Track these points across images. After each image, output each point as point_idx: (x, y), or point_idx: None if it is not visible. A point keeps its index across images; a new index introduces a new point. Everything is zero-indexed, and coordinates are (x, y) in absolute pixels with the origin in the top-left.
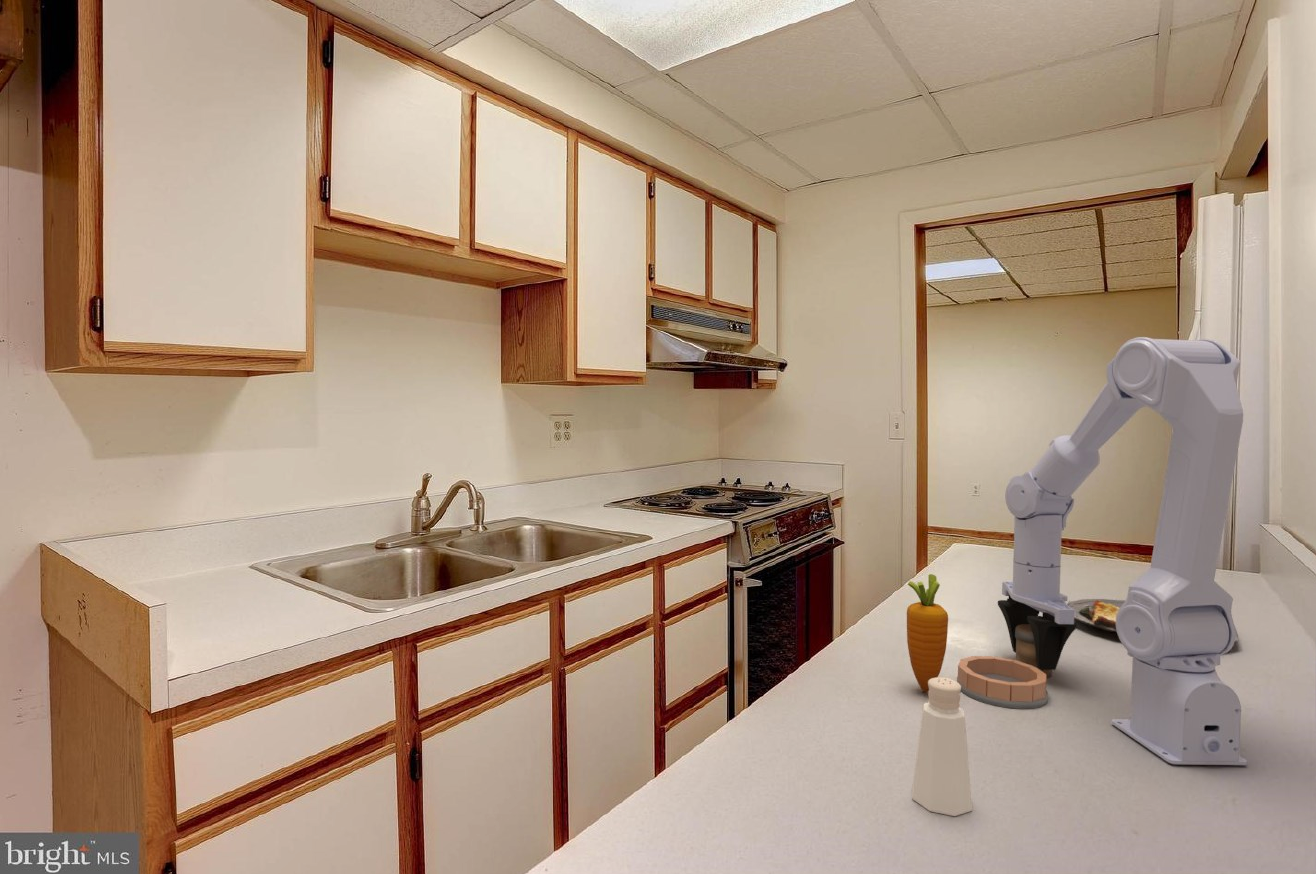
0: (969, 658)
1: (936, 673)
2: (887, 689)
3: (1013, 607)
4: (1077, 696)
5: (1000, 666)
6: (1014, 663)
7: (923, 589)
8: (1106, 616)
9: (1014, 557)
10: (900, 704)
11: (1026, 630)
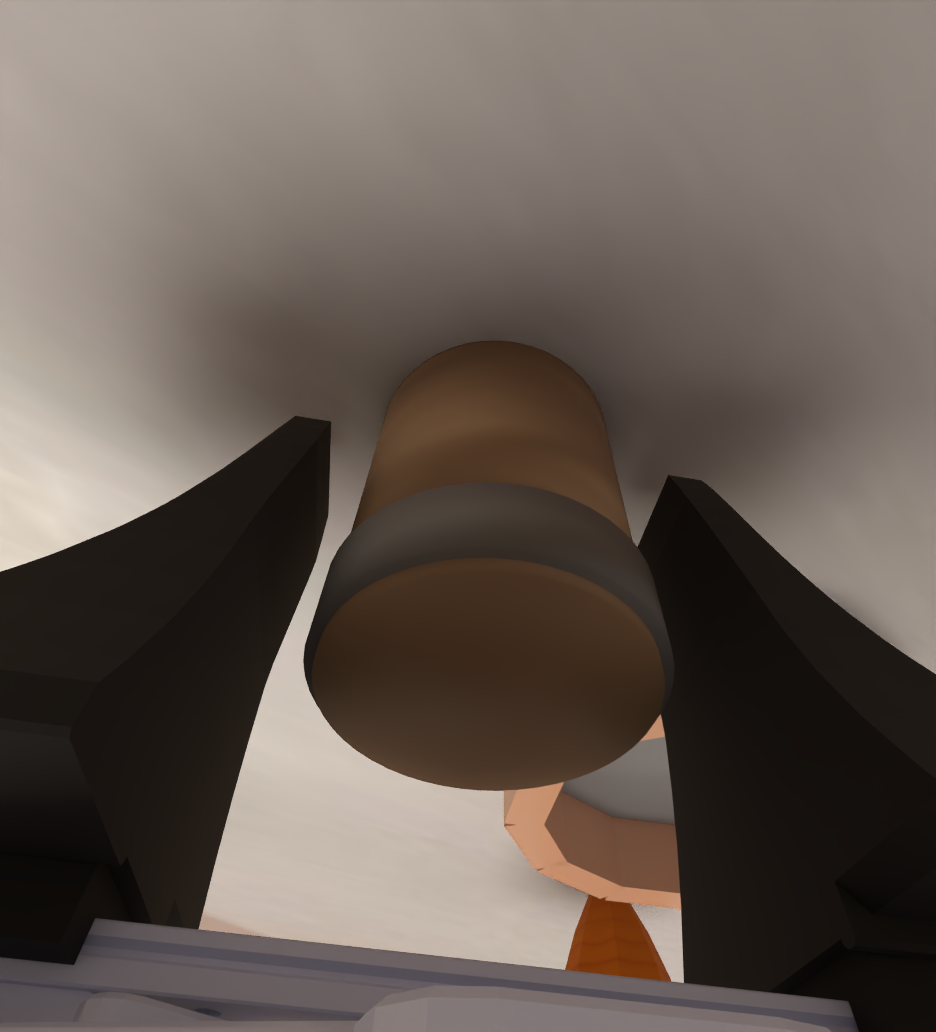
0: (533, 847)
1: (663, 967)
2: (554, 921)
3: (185, 899)
4: (913, 462)
5: None
6: (646, 735)
7: None
8: None
9: None
10: (659, 932)
11: (509, 765)
